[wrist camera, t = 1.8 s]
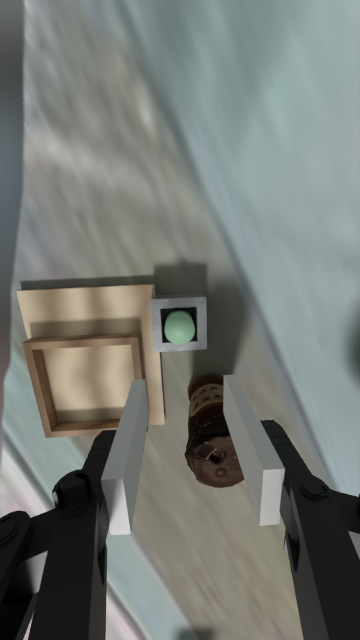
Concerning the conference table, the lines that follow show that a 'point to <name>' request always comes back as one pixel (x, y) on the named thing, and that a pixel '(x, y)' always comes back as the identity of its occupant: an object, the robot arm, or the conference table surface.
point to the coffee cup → (210, 435)
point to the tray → (90, 355)
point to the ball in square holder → (179, 302)
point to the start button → (179, 326)
